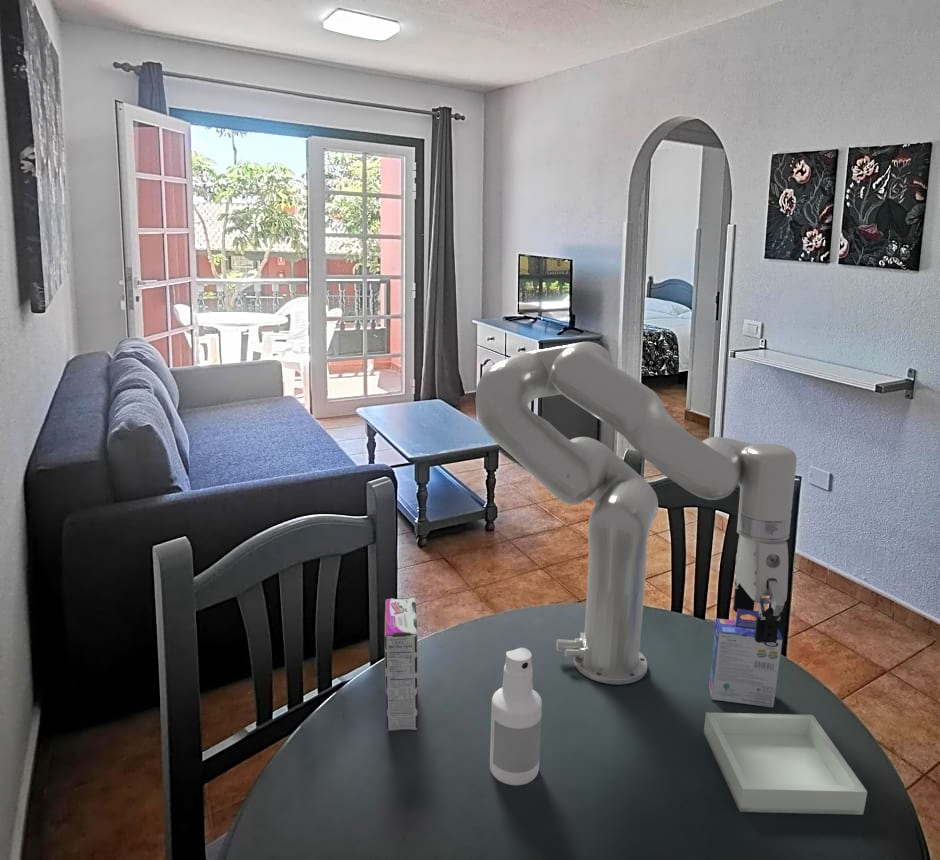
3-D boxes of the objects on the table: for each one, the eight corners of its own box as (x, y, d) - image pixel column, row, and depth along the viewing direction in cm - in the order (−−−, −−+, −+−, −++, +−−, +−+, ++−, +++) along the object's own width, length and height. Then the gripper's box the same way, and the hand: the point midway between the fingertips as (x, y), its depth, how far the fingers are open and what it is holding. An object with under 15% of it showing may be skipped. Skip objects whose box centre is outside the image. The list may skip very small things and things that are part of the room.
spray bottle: (505, 793, 99) (509, 673, 95) (480, 761, 105) (484, 647, 101) (548, 777, 102) (554, 660, 98) (522, 747, 108) (527, 636, 104)
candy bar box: (385, 689, 121) (384, 597, 117) (416, 688, 122) (416, 596, 118) (384, 733, 111) (383, 633, 107) (418, 731, 111) (418, 632, 107)
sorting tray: (739, 811, 97) (742, 788, 96) (703, 732, 112) (705, 712, 111) (863, 814, 97) (867, 791, 96) (809, 735, 112) (813, 714, 111)
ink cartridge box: (769, 689, 124) (780, 610, 120) (775, 709, 118) (787, 627, 115) (707, 681, 125) (716, 603, 122) (711, 700, 120) (720, 619, 117)
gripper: (812, 546, 106) (800, 654, 110) (766, 505, 123) (757, 600, 127) (759, 546, 106) (749, 654, 110) (721, 505, 123) (713, 601, 127)
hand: (754, 625), depth 119 cm, fingers open, 9 cm apart
